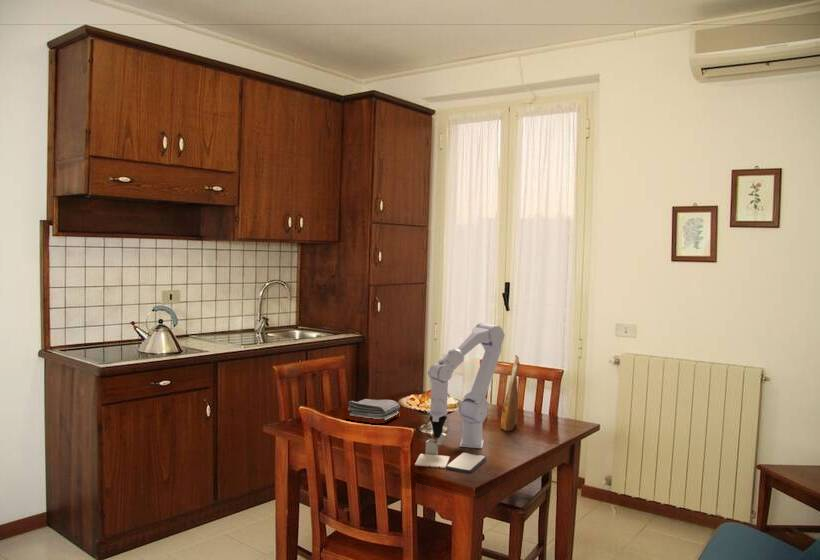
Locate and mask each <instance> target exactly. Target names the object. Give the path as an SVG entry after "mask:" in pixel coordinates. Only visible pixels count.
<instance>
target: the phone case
mask: <svg viewBox="0 0 820 560" xmlns="http://www.w3.org/2000/svg"><path fill="white" fill-rule="evenodd" d="M486 460H487V457H486V455H482V454H476V453H471V452H461V453H460V454H459V455H457V456H456V457H455V458H454V459H452V460H451V461H450V462H448V463H447V465H446V468H445V470H448V469H451V470H450V471H453V470H455V472H458V471H460V472H459V473H463V472H465V473H464V474H472V473H474V471H476V470H477V469H478V468H479V467H480V466H481V465H482V464H484V463H485V462H486ZM477 467H478V468H477ZM476 468H477V469H476ZM471 472H472V473H471Z"/></svg>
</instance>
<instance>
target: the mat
mask: <svg viewBox="0 0 820 560" xmlns="http://www.w3.org/2000/svg"><path fill="white" fill-rule="evenodd" d="M450 458H451V456H448V455H440V454H438V455H429V454H425V453H420V454H419V455H418V457H417V459H416V460H415V461H416V462H415V463H414V466H419V467H429V466H430V468H431V467H432V468H439V467H440V469H446V465H448V464H449V461H450Z"/></svg>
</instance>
